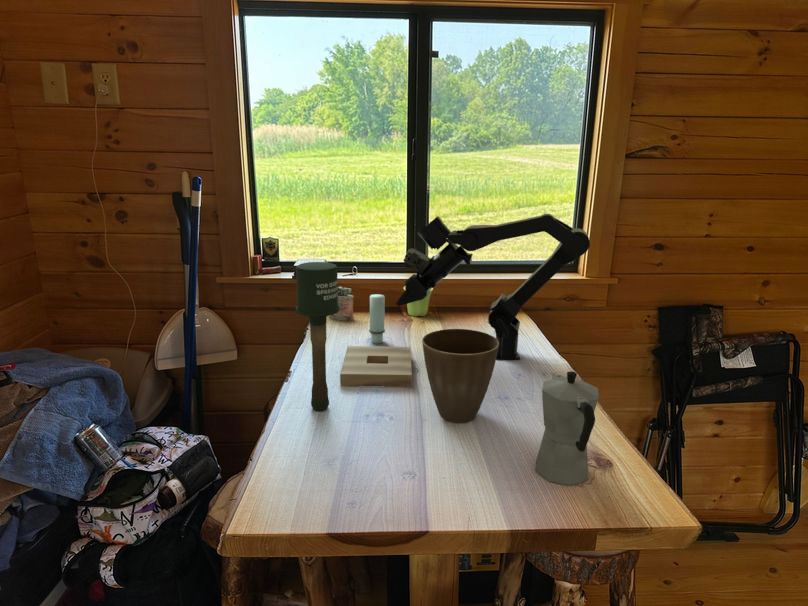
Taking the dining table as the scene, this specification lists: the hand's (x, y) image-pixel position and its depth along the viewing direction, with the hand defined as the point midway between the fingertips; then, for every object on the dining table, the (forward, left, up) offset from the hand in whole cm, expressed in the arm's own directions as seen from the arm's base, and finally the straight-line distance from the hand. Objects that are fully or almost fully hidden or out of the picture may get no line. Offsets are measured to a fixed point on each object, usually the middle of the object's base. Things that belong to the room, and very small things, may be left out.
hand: (401, 300), depth 151 cm
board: (-19, +6, -12) cm, 24 cm away
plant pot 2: (-41, -11, -13) cm, 45 cm away
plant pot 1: (+29, -5, -13) cm, 32 cm away
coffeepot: (-62, -27, -13) cm, 69 cm away
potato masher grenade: (-39, +17, -13) cm, 44 cm away
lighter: (+23, +19, -13) cm, 32 cm away
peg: (+2, +7, -12) cm, 14 cm away
